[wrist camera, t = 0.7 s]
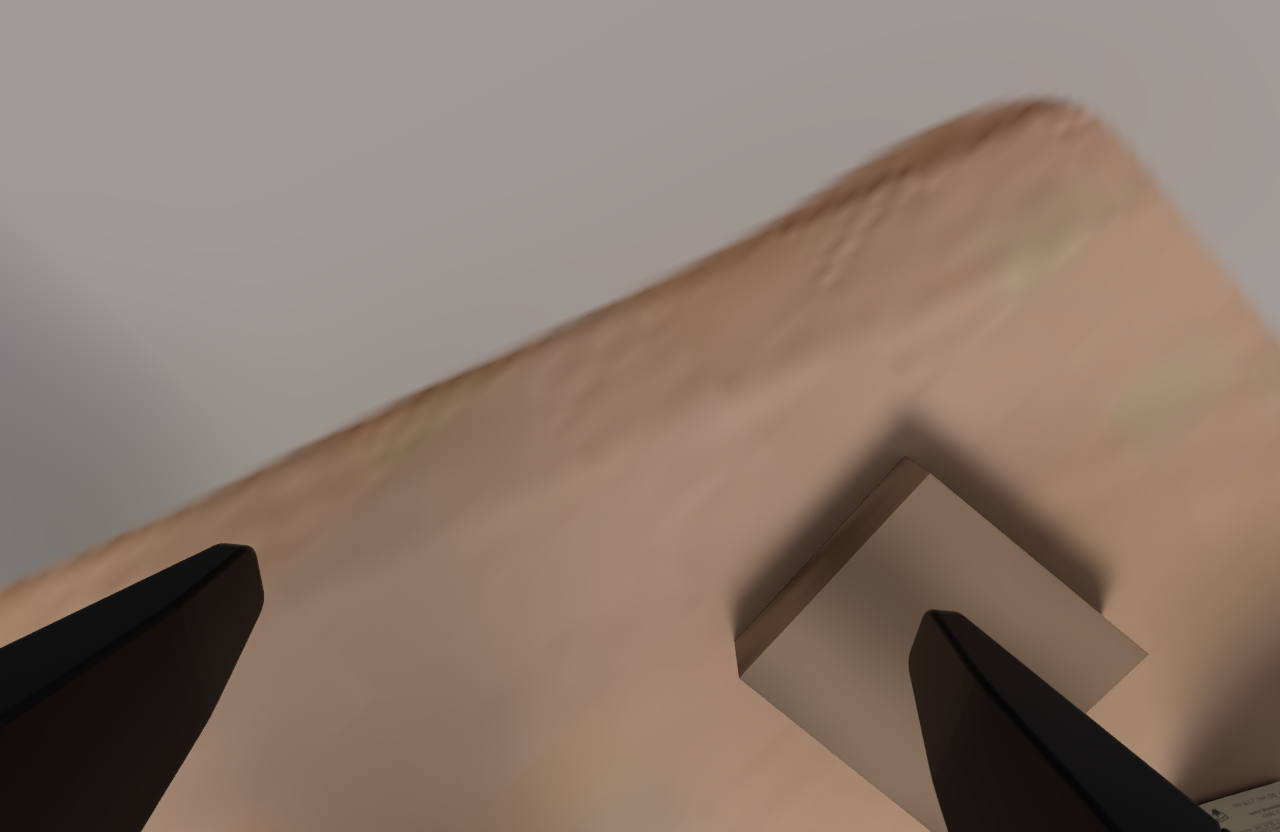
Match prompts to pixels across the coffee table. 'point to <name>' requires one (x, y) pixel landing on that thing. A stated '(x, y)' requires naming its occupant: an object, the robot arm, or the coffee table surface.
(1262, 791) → the skincare box
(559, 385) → the coffee table surface
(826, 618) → the walnut plinth
